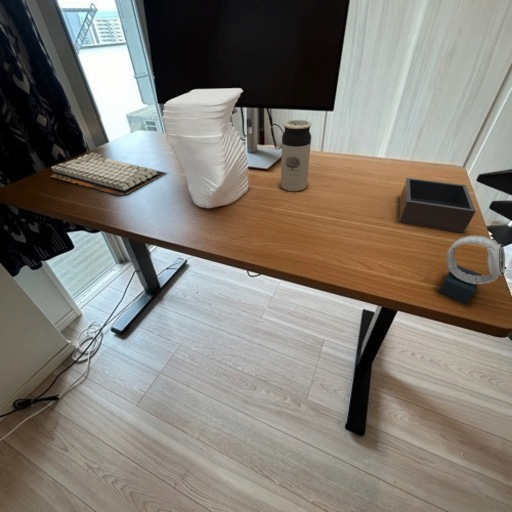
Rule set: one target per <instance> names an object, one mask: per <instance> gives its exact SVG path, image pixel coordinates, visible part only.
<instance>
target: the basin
mask: <svg viewBox="0 0 512 512" xmlns="http://www.w3.org/2000/svg"><path fill="white" fill-rule="evenodd" d="M476 212H477V210H476V208H475V205H474V203H473V200H472V197H471V195H470V192H469V189H468V187H467V185H466V184H461V183H453V182H444V181H435V180H428V179H418V178H412V177H406V178H405V181H404V185H403V187H402V190H401V193H400V196H399V223H402V224H408V225H412V226H413V225H414V226H420V227H425V228H431V229H436V230H443V231H449V232H455V233H460V234H464V233H465V231H466V230H467V228H468V226H469V224H470V223H471V221H472V219H473V217H474V215H475V214H476Z"/></svg>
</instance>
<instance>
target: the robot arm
mask: <svg viewBox="0 0 512 512" xmlns="http://www.w3.org/2000/svg"><path fill="white" fill-rule="evenodd" d="M475 181H476V182H477V183H480V184H481V185H484V186H486V187H489V188H491V189H494V190H496V191H499V192H501V193H504V194H507V195H509V196H512V168H509V169H502V170H498V171H497V170H496V171H490V172H484V173H479V174H478V175H477V177H476V179H475ZM488 209H489V210H490V211H492V212H494V213H496V214H498V215H500V216H501V217H503V218H505V219H507V220H509V221H511V222H512V200H511V199H510V200H505V199H504V200H493V201H491V203H490V204H489V206H488Z"/></svg>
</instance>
